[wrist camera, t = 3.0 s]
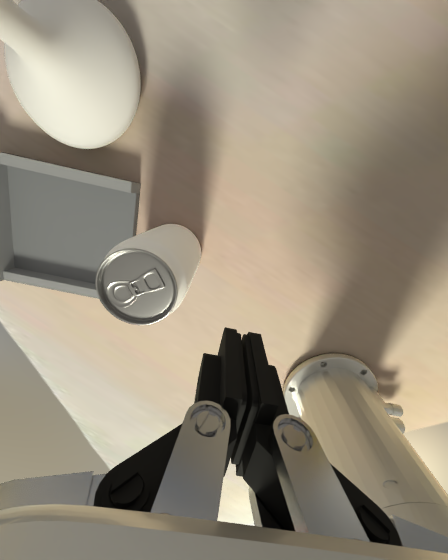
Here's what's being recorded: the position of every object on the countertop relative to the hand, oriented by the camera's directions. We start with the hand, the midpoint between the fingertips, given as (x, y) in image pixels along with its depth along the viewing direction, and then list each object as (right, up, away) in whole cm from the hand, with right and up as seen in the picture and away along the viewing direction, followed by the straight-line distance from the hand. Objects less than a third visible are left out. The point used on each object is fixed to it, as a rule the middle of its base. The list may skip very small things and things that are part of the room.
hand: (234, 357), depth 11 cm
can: (-6, +7, +17) cm, 19 cm away
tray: (-17, +9, +16) cm, 25 cm away
